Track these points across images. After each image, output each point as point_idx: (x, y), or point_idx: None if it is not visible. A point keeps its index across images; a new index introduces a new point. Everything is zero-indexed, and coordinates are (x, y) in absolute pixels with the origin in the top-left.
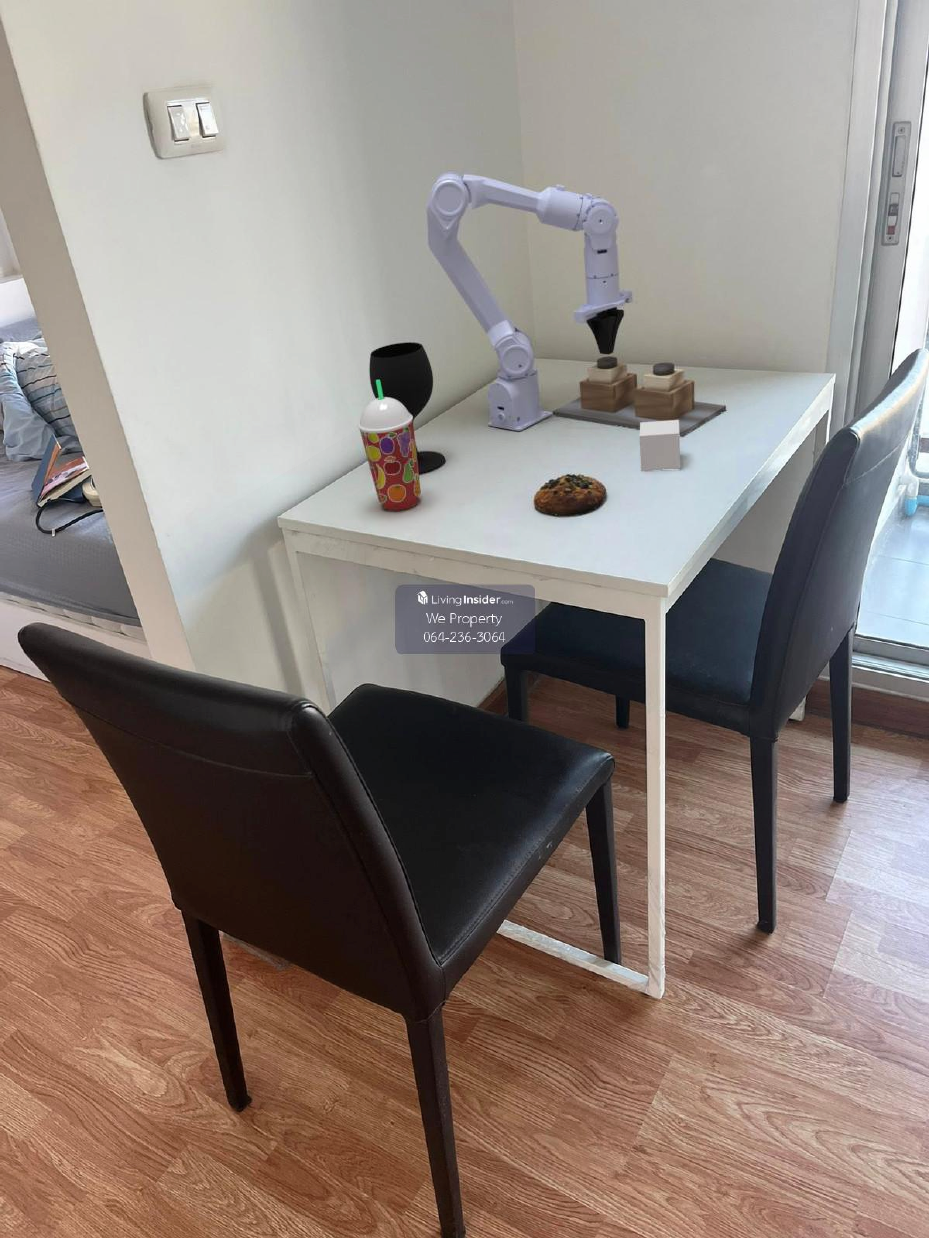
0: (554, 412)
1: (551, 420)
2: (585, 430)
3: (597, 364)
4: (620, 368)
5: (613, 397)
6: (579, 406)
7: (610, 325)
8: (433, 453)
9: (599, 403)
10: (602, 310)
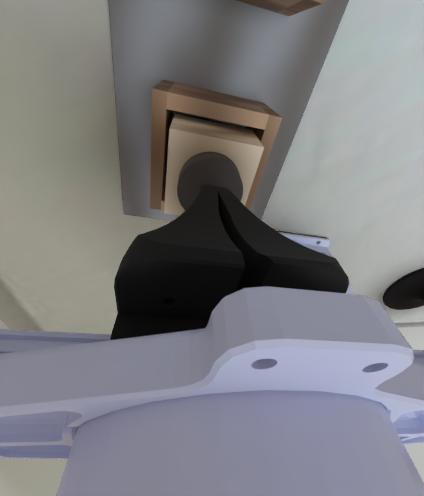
0: None
1: (276, 219)
2: (336, 133)
3: None
4: (207, 134)
5: (272, 110)
6: None
7: (282, 243)
8: (401, 287)
9: None
10: (415, 364)
